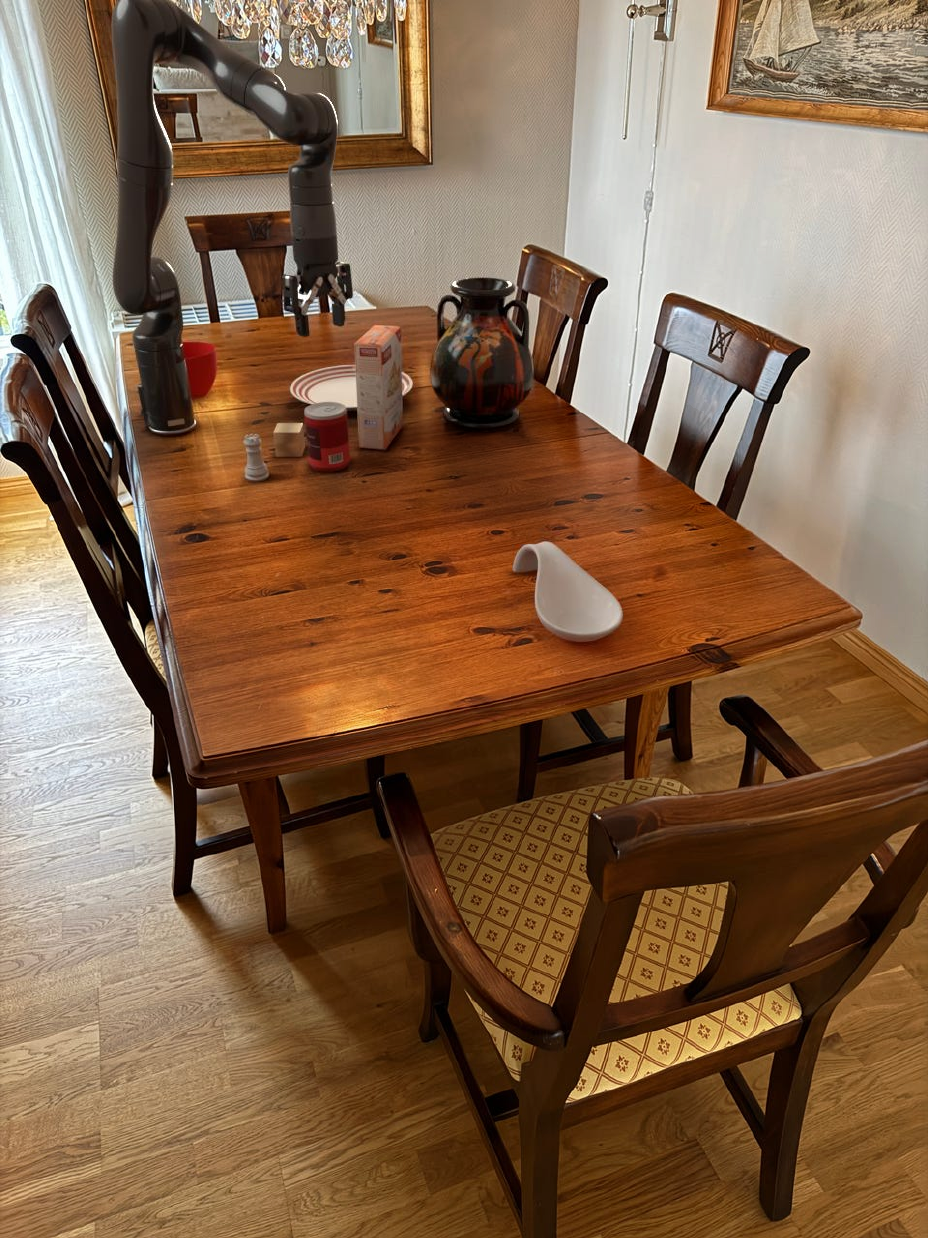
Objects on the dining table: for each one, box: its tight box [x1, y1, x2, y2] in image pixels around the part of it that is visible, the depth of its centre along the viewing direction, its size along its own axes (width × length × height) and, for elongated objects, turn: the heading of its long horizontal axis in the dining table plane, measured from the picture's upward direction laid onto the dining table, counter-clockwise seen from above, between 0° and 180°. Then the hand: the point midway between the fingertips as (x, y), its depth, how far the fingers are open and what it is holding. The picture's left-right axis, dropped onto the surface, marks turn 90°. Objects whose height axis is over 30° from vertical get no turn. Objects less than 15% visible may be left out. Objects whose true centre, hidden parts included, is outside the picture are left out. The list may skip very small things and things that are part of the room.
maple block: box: [272, 422, 306, 458], centre depth 175 cm, size 5×5×5 cm
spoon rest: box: [512, 541, 624, 643], centre depth 126 cm, size 24×12×7 cm, turn 21°
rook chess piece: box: [242, 433, 270, 483], centre depth 164 cm, size 4×4×8 cm
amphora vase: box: [429, 276, 535, 433], centre depth 184 cm, size 22×22×28 cm
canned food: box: [303, 402, 351, 473], centre depth 168 cm, size 8×8×11 cm
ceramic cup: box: [182, 341, 218, 399], centre depth 204 cm, size 13×17×10 cm
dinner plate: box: [289, 364, 414, 412], centre depth 202 cm, size 28×27×3 cm
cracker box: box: [353, 324, 404, 451], centre depth 177 cm, size 14×6×21 cm, turn 168°
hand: (321, 330), depth 158 cm, fingers open, 8 cm apart
